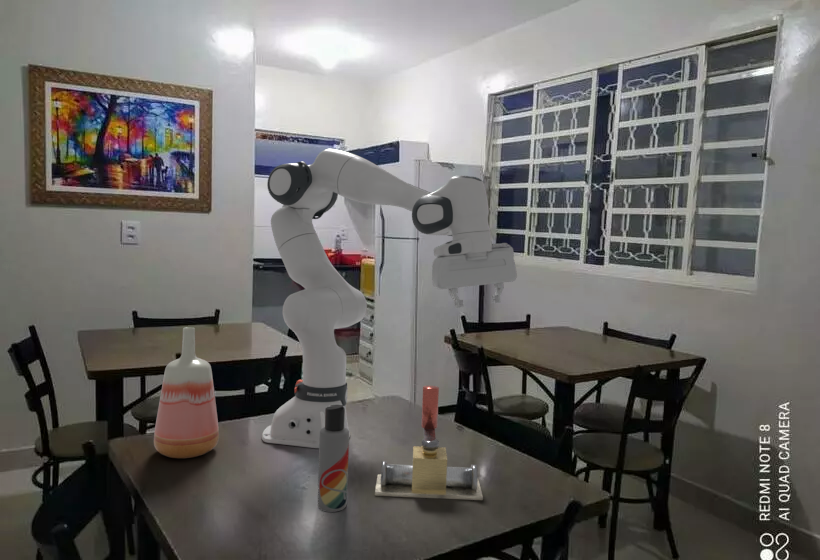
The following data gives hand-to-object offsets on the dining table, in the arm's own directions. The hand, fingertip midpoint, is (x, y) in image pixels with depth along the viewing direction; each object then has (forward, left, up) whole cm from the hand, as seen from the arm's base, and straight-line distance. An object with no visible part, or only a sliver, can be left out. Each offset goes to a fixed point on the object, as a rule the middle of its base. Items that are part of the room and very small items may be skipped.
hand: (477, 305), depth 139 cm
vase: (-67, 0, -38) cm, 77 cm away
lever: (-10, -10, -29) cm, 32 cm away
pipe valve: (-10, -15, -38) cm, 42 cm away
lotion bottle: (-29, -25, -38) cm, 54 cm away
